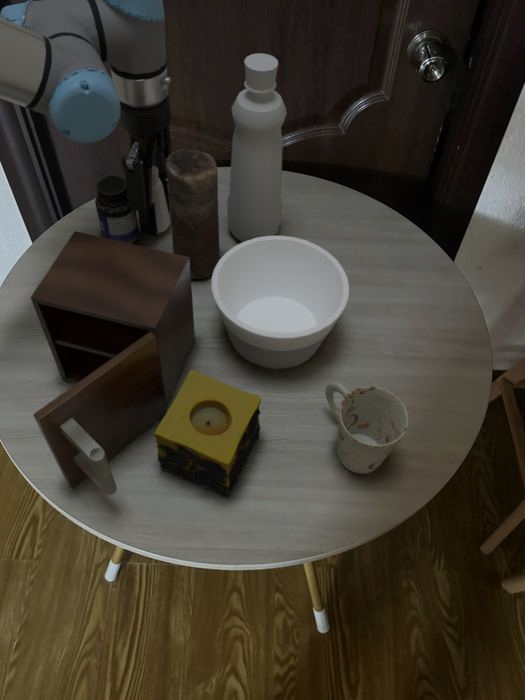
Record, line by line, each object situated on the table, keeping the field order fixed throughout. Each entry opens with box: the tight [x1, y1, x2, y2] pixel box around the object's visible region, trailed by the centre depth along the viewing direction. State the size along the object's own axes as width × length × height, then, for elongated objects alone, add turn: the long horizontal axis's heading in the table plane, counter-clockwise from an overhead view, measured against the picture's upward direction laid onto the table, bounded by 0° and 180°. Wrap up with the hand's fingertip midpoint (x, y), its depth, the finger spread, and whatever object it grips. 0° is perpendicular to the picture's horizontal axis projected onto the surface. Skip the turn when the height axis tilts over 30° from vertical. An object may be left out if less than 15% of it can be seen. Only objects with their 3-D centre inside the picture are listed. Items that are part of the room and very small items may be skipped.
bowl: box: [210, 235, 350, 370], centre depth 89 cm, size 19×19×11 cm
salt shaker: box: [137, 166, 171, 234], centre depth 100 cm, size 5×5×11 cm
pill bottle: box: [94, 174, 140, 245], centre depth 100 cm, size 6×6×11 cm
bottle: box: [226, 52, 288, 243], centre depth 95 cm, size 9×9×30 cm
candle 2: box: [153, 369, 262, 498], centre depth 77 cm, size 10×10×10 cm
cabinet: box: [30, 230, 196, 408], centre depth 82 cm, size 12×16×18 cm
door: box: [32, 332, 168, 496], centre depth 73 cm, size 7×16×17 cm, turn 136°
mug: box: [325, 381, 409, 475], centre depth 79 cm, size 8×13×10 cm, turn 36°
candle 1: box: [166, 148, 221, 280], centre depth 93 cm, size 8×7×20 cm
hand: (155, 222), depth 104 cm, fingers closed on salt shaker, 5 cm apart
